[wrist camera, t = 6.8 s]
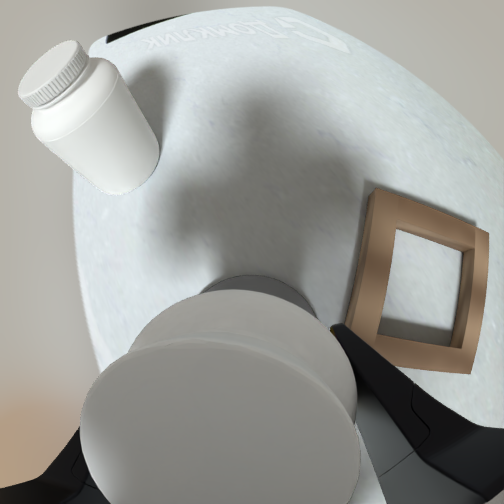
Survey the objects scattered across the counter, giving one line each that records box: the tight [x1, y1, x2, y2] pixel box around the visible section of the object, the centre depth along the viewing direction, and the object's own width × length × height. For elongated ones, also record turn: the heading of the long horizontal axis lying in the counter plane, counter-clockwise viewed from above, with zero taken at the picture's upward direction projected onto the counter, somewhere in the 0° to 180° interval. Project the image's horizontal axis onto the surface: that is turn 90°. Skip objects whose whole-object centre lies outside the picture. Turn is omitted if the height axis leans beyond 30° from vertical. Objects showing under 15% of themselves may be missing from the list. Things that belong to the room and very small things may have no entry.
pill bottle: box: [18, 40, 159, 195], centre depth 18 cm, size 8×8×15 cm
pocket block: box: [345, 188, 489, 374], centre depth 21 cm, size 14×14×2 cm
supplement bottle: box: [80, 289, 361, 504], centre depth 9 cm, size 7×7×13 cm
